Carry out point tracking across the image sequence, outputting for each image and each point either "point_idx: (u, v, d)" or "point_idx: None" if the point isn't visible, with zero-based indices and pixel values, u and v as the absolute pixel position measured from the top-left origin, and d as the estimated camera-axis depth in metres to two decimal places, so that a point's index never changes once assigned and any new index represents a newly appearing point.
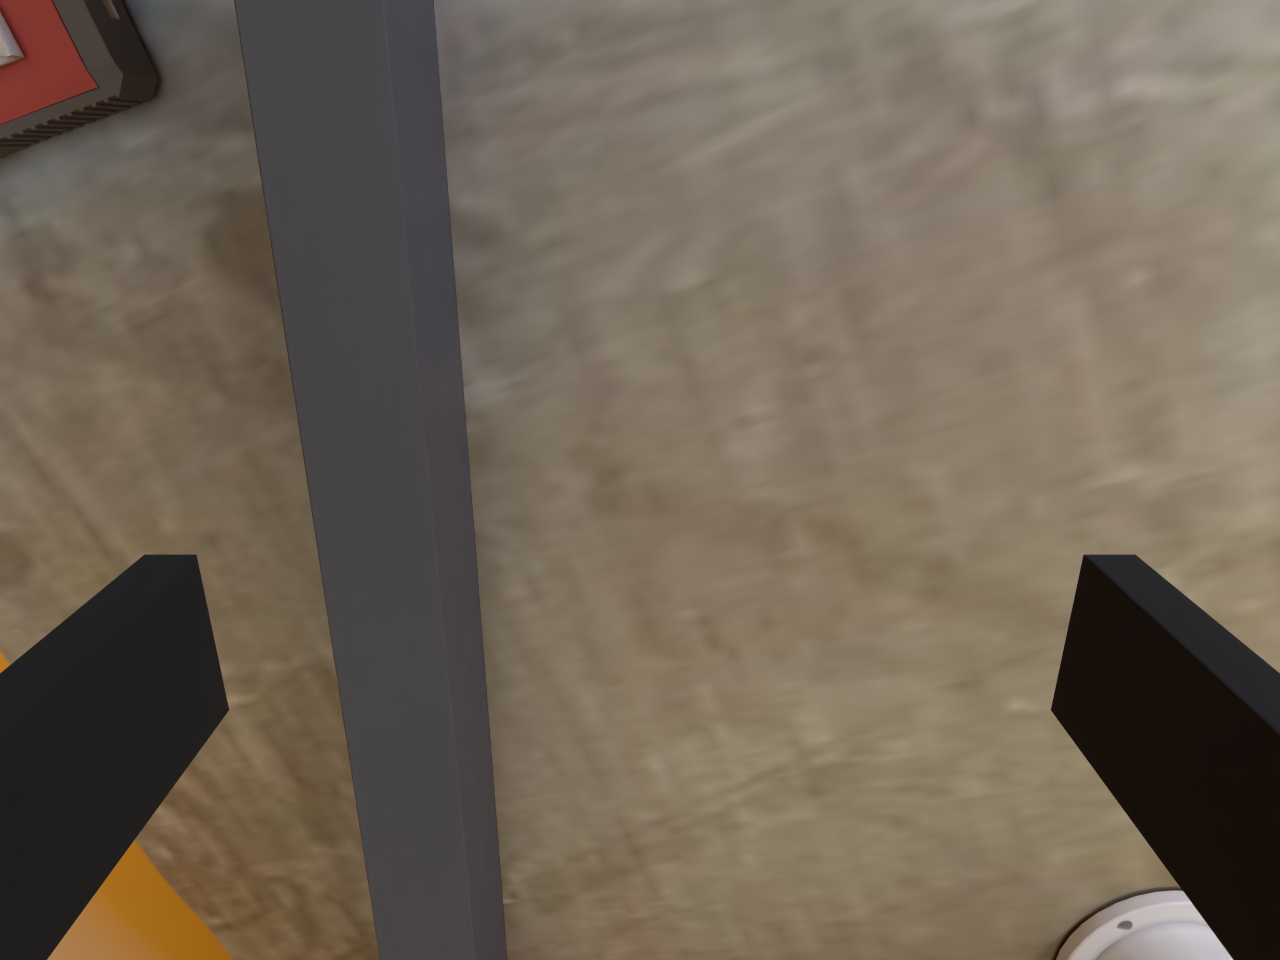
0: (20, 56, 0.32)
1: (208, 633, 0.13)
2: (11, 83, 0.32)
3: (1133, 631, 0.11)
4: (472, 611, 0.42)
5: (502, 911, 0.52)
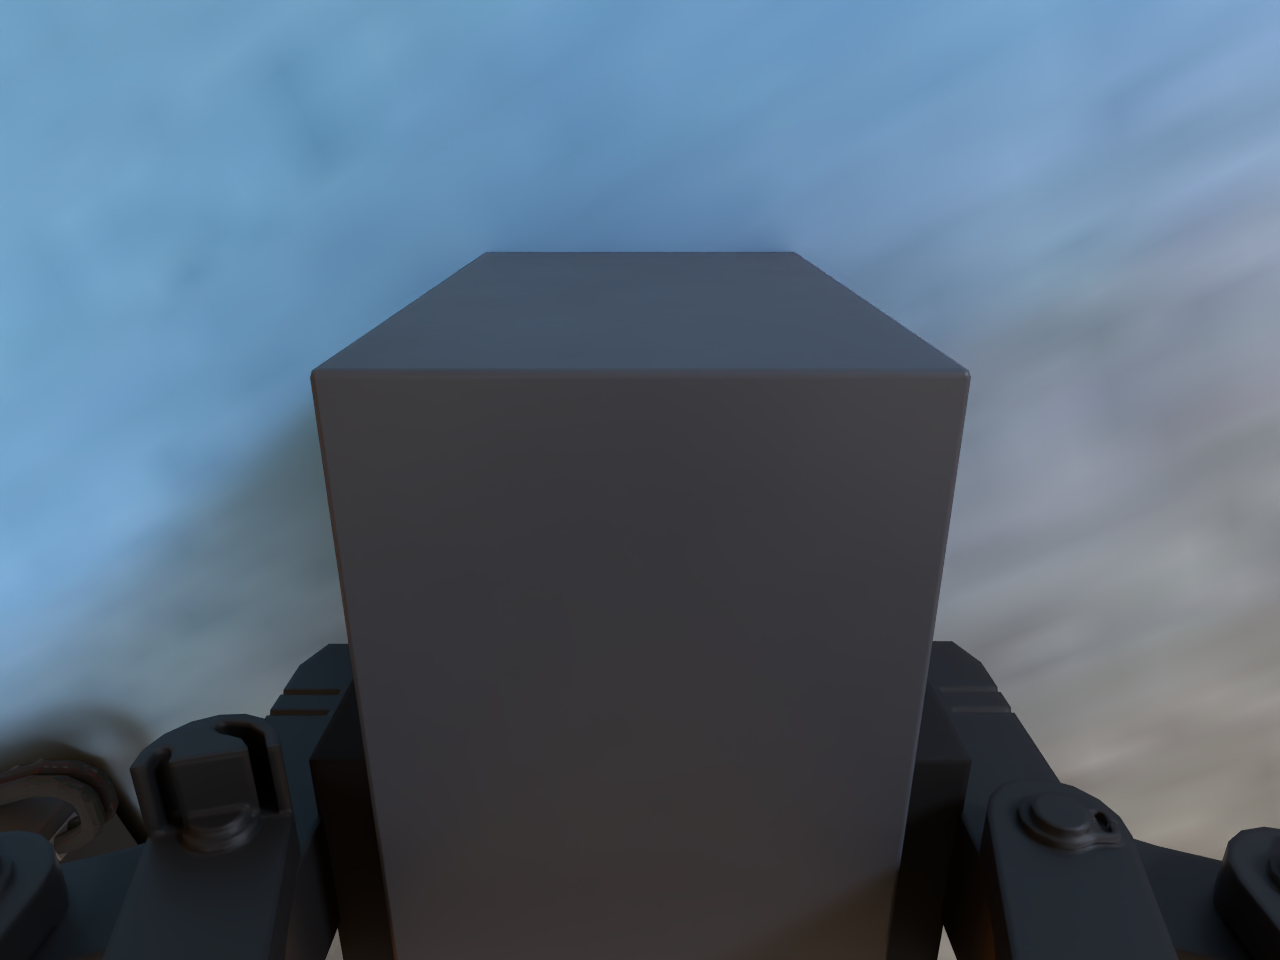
0: None
1: None
2: None
3: None
4: None
5: None
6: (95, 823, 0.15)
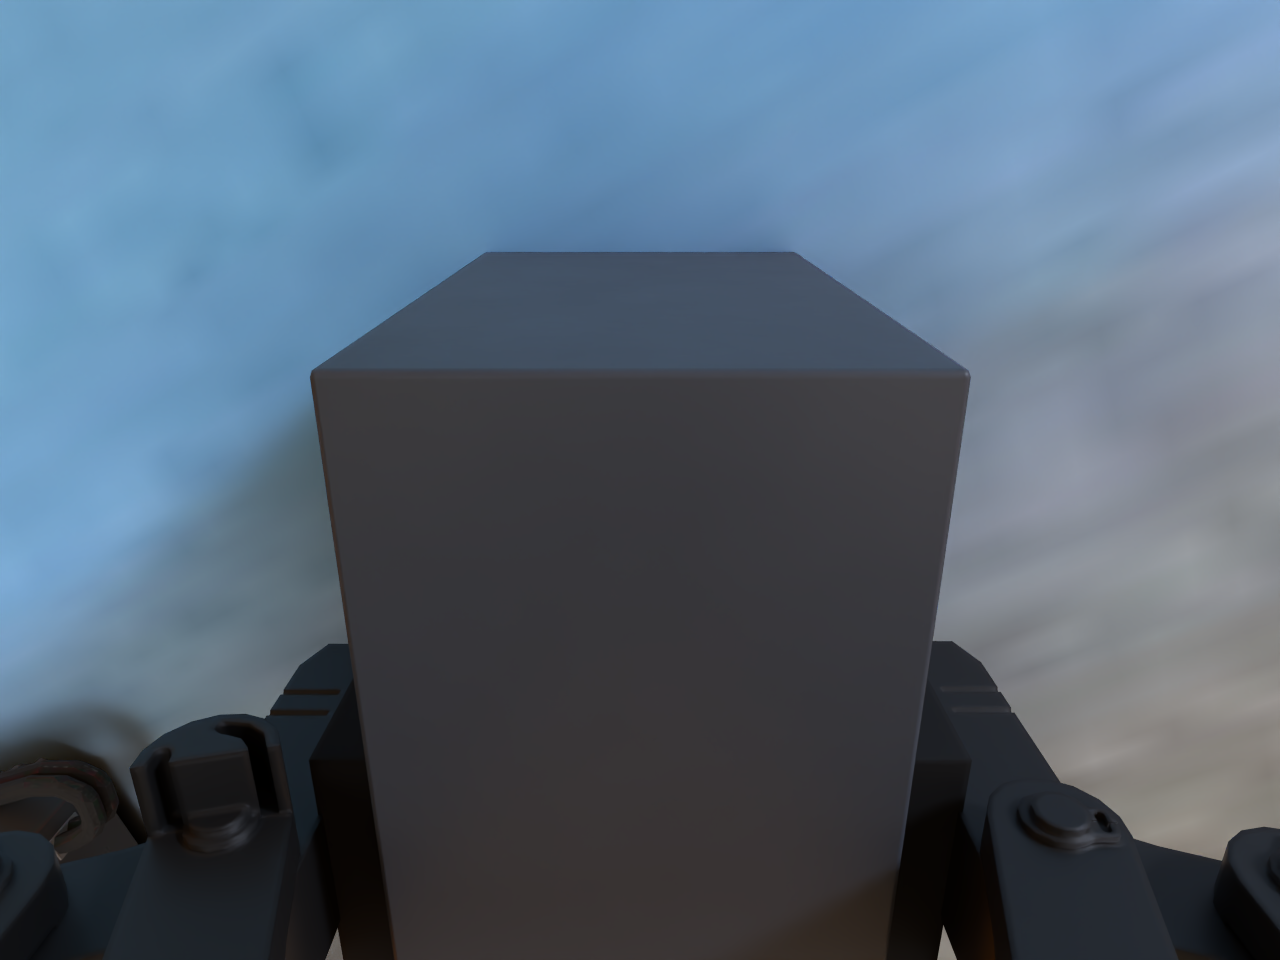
0: None
1: None
2: None
3: None
4: None
5: None
6: (95, 823, 0.15)
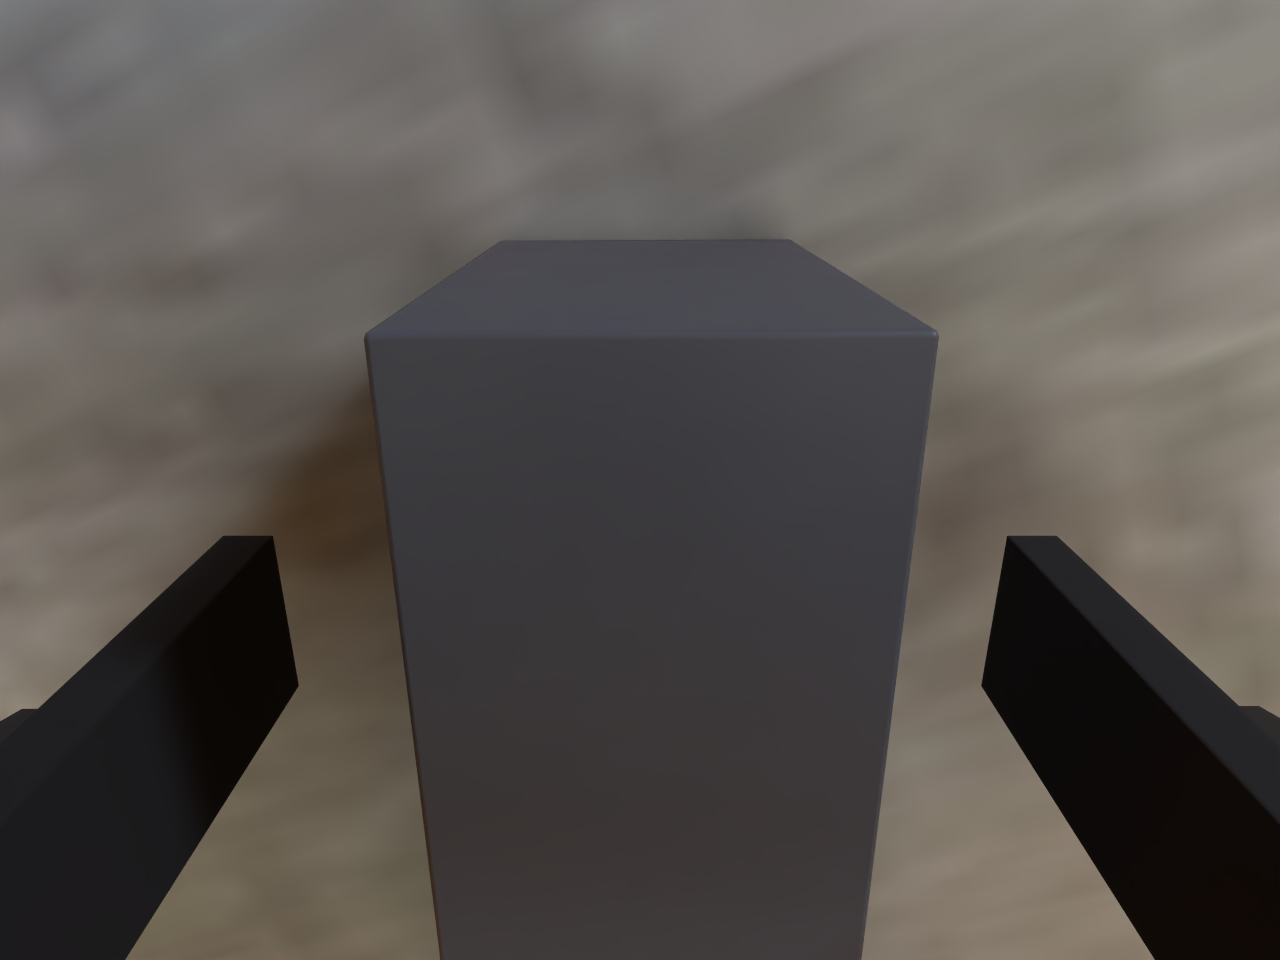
0: None
1: (282, 611, 0.13)
2: None
3: (1046, 606, 0.12)
4: None
5: None
6: None
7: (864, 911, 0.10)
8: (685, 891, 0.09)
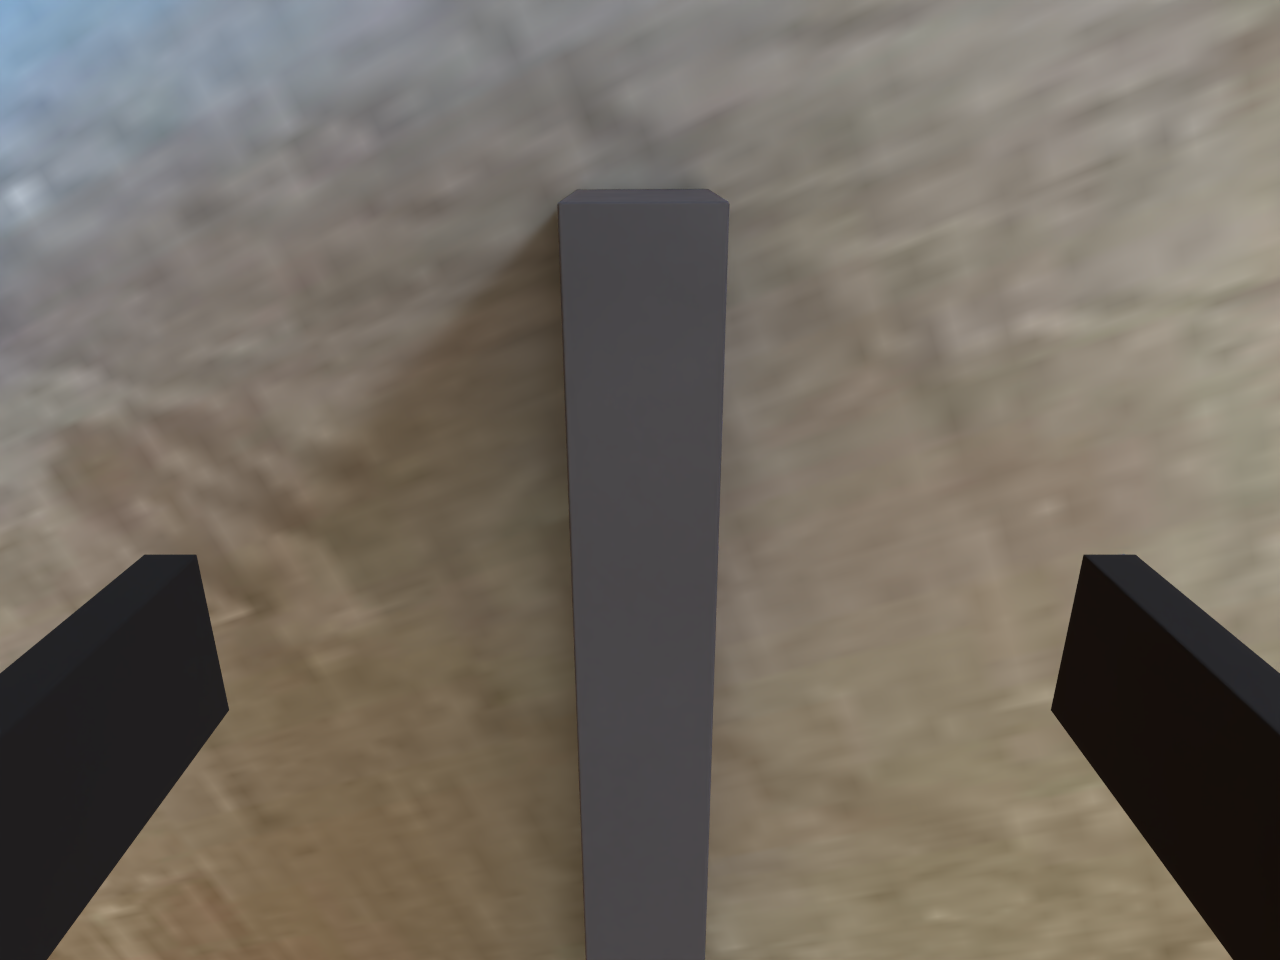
0: None
1: (208, 633, 0.13)
2: None
3: (1133, 632, 0.11)
4: None
5: None
6: None
7: (720, 422, 0.27)
8: (656, 412, 0.26)
